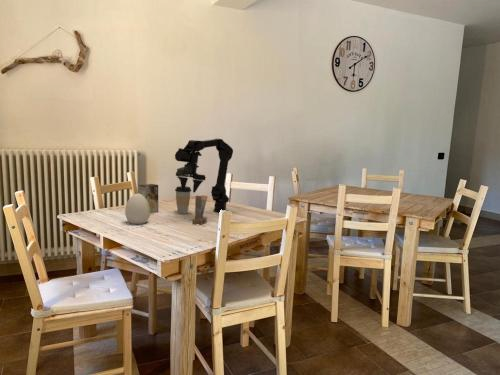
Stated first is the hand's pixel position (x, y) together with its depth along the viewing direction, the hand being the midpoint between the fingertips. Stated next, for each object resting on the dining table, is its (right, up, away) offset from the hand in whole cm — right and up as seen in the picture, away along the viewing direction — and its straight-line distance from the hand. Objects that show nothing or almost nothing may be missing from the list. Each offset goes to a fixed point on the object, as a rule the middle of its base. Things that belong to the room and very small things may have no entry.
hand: (188, 191), depth 208 cm
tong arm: (+7, -14, -10) cm, 19 cm away
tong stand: (+7, -17, -10) cm, 21 cm away
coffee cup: (-6, -13, +14) cm, 20 cm away
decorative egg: (-24, -16, -13) cm, 32 cm away
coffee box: (-25, -12, +11) cm, 30 cm away
